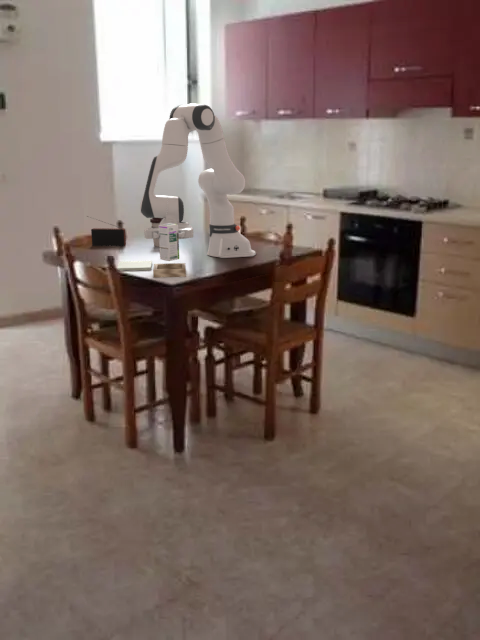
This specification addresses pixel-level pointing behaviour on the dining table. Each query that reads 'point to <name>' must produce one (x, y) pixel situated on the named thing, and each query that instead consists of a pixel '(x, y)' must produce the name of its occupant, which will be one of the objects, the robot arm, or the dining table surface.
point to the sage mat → (135, 265)
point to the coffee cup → (156, 224)
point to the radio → (108, 236)
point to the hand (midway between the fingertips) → (168, 236)
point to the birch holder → (169, 270)
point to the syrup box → (169, 241)
